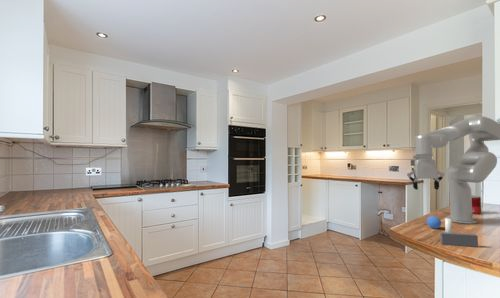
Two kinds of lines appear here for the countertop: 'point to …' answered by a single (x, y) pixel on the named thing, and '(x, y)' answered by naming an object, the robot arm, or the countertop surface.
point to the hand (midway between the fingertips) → (426, 189)
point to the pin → (448, 225)
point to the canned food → (476, 204)
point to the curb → (459, 239)
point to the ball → (434, 222)
